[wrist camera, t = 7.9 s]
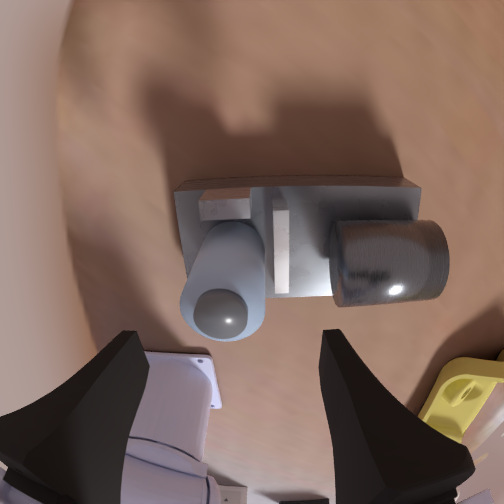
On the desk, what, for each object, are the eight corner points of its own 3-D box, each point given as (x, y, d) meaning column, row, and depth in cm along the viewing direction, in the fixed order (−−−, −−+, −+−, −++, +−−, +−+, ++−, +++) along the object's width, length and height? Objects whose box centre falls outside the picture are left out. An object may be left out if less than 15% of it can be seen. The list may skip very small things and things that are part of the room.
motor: (198, 278, 21) (175, 346, 15) (184, 181, 18) (145, 221, 12) (403, 271, 20) (443, 331, 14) (417, 178, 17) (477, 215, 11)
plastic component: (448, 371, 23) (524, 380, 18) (445, 329, 29) (512, 339, 24) (392, 466, 30) (451, 473, 26) (400, 428, 36) (455, 436, 32)
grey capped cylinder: (211, 281, 18) (192, 353, 13) (195, 227, 17) (164, 288, 11) (269, 272, 18) (271, 345, 12) (258, 216, 16) (255, 274, 11)
